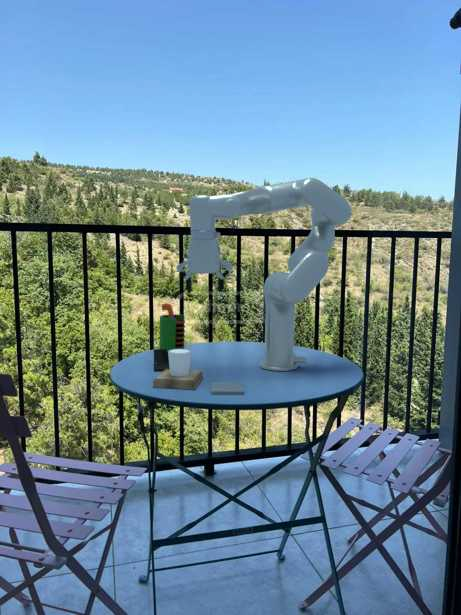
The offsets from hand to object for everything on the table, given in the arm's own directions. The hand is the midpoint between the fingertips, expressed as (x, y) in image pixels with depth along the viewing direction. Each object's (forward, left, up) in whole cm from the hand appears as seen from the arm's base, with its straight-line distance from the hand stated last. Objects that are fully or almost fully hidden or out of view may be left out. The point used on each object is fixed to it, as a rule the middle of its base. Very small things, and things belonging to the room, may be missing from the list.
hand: (205, 292), depth 160 cm
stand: (+5, +13, -26) cm, 29 cm away
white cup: (+5, +12, -23) cm, 27 cm away
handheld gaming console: (+12, -4, -26) cm, 29 cm away
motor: (+14, -12, -26) cm, 32 cm away
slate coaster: (-10, +17, -26) cm, 32 cm away
